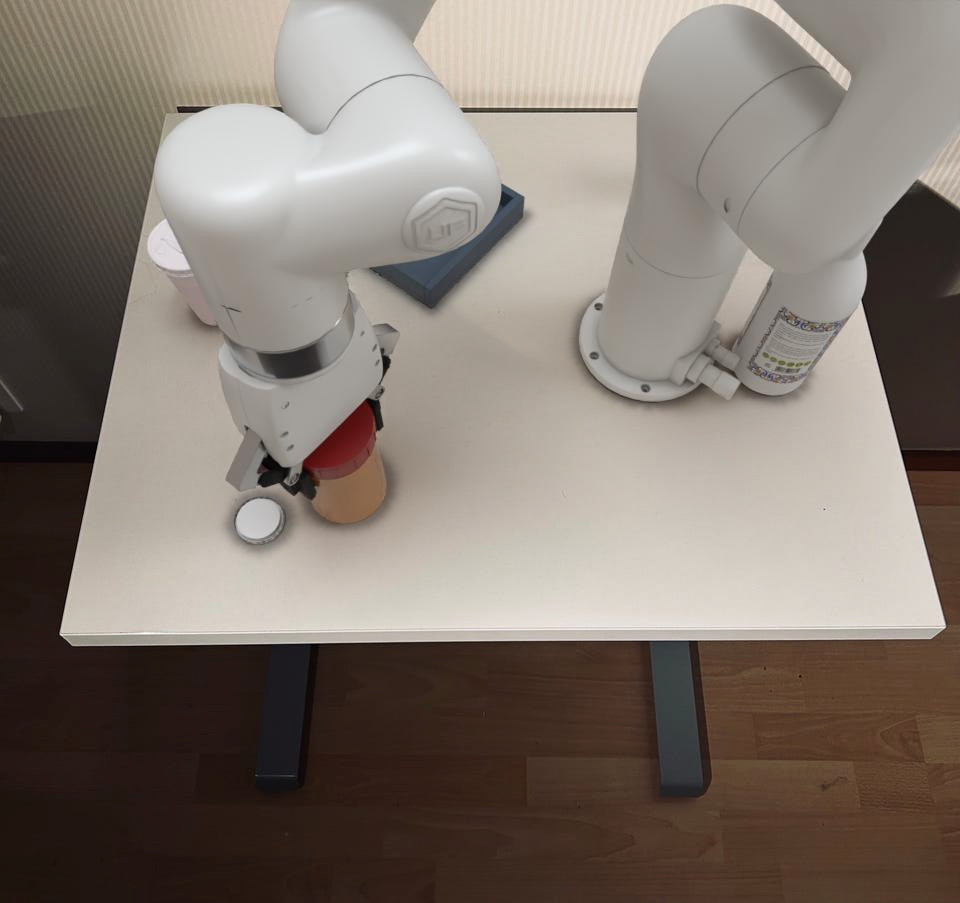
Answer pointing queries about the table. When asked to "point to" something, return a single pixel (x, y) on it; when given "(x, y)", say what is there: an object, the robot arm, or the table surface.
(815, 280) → the bath foam
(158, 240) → the smoothie
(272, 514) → the white grey disc
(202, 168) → the robot arm
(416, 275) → the tray
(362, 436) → the lid
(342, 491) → the jar
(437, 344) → the table surface
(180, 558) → the table surface
